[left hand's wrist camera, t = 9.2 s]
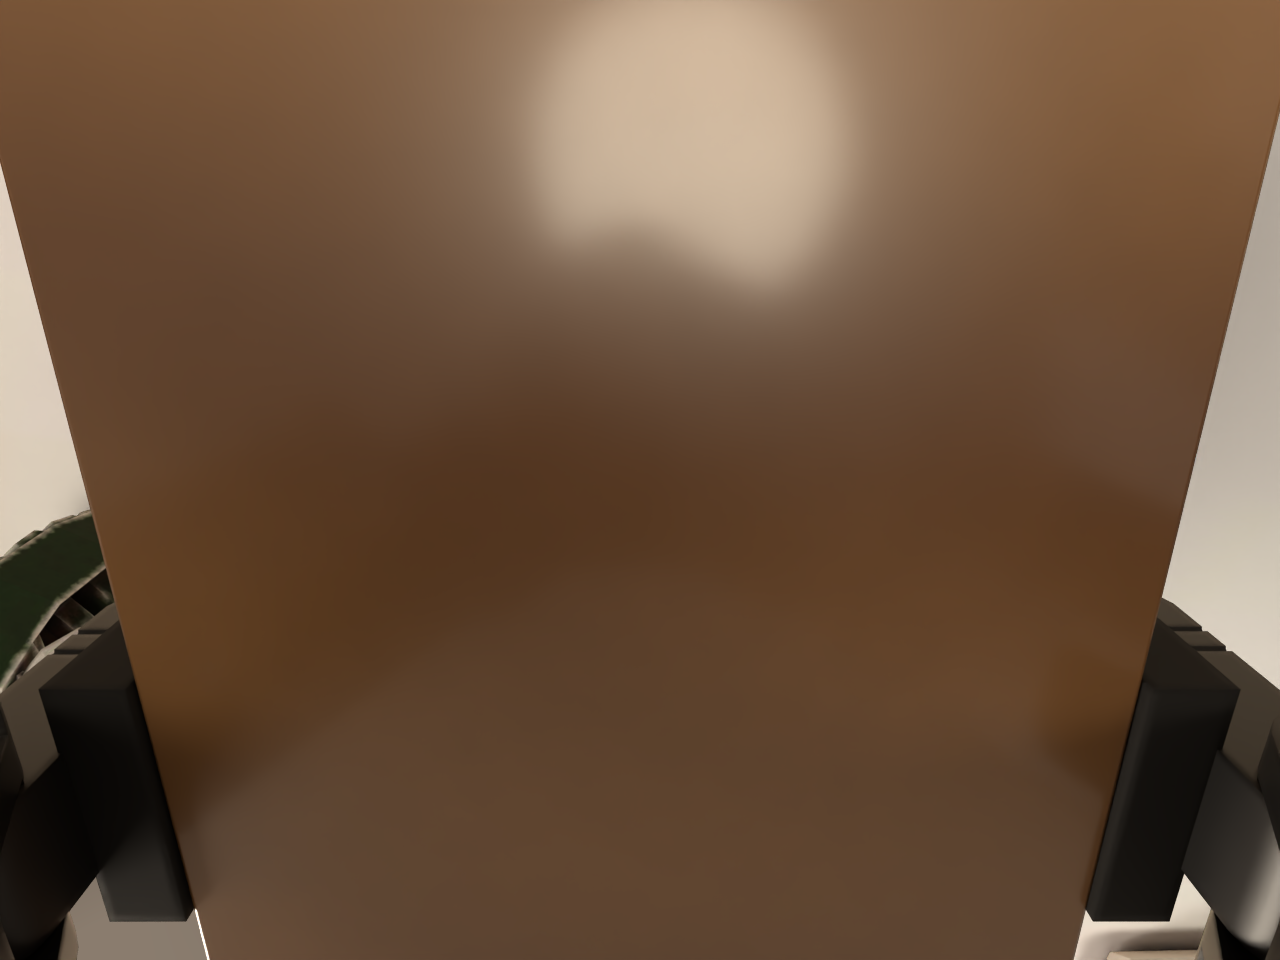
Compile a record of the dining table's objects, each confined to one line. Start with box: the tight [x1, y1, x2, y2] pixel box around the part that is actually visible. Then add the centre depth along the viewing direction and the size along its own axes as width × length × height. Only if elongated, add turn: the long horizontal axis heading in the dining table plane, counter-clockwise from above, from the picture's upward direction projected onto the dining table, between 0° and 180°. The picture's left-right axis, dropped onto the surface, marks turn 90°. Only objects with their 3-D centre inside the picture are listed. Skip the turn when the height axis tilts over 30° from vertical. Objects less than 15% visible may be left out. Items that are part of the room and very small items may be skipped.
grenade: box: [0, 509, 115, 693], centre depth 25 cm, size 7×6×10 cm
